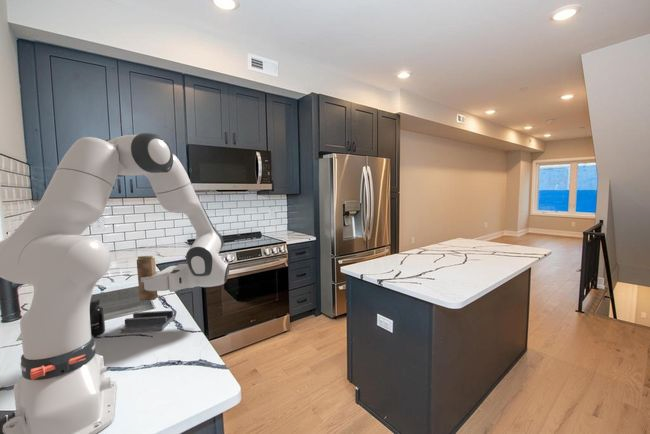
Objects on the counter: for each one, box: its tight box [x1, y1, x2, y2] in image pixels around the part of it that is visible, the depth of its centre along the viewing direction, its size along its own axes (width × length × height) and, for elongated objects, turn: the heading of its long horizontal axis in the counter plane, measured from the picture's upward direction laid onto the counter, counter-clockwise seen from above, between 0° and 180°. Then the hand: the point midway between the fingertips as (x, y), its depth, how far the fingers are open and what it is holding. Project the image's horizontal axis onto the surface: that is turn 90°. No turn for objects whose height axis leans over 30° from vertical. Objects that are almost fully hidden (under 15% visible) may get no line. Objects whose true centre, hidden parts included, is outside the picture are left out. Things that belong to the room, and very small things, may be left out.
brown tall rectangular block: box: [136, 255, 158, 302], centre depth 105 cm, size 5×2×16 cm, turn 95°
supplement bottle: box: [90, 298, 106, 338], centre depth 99 cm, size 7×7×12 cm
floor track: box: [119, 310, 176, 334], centre depth 105 cm, size 14×10×4 cm
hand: (144, 277), depth 105 cm, fingers closed on brown tall rectangular block, 2 cm apart
